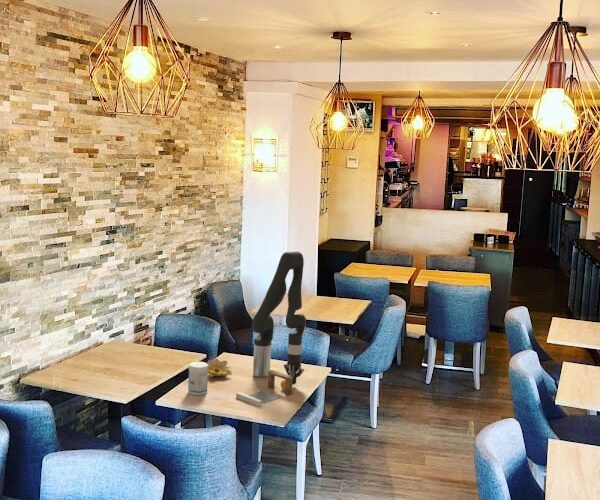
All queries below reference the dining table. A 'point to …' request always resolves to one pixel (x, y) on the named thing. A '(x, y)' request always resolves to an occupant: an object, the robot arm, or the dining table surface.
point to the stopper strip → (249, 399)
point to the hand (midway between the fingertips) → (293, 384)
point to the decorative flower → (218, 368)
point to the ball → (283, 384)
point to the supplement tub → (198, 378)
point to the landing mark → (264, 396)
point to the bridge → (274, 373)
